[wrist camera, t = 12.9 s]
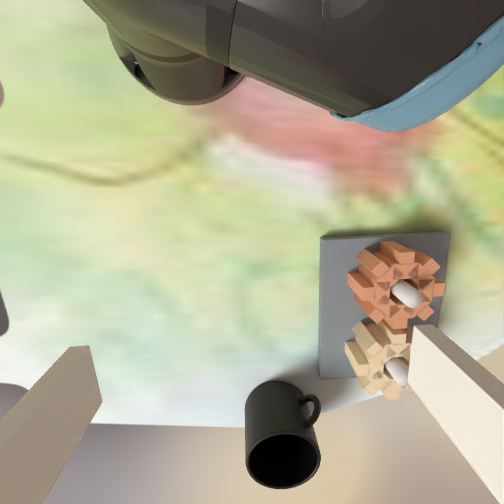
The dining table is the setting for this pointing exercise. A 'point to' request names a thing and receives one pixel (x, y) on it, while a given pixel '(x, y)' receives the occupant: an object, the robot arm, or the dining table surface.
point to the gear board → (360, 324)
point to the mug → (281, 435)
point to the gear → (388, 273)
